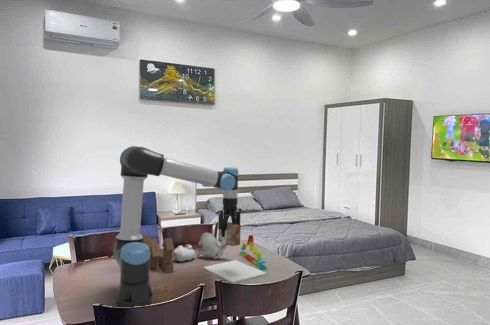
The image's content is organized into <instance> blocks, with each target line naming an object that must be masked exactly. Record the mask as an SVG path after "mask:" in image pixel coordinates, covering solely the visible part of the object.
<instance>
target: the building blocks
mask: <svg viewBox="0 0 490 325" xmlns="http://www.w3.org/2000/svg"><path fill="white" fill-rule="evenodd" d="M141 235H142V236H143V243H144V244H146V245H148V246H149V249H150V269H156V268H158V265H159V267H161V269H162V271H164V272H165V273H166V274H168V273H173V272H174V264H173V258H172V254H173V251H174V250H175V247H174V243H173V242H174V241H173V238H172V237H166V238H164V240H163V243H162V245H161V247H162V248H159V242H158V239H157V238H151V234H149V233H147V234H141ZM150 269H149V270H150Z"/></svg>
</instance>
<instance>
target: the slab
mask: <svg viewBox="0 0 490 325" xmlns="http://www.w3.org/2000/svg"><path fill="white" fill-rule="evenodd" d="M226 231H227V240H226V244H227V245H228V246H230V247H236V246H240V245H241V224H240V225H238V224H234V223H232V221H231V222H230V221H228V222H227V226H226ZM217 242H219V243H222V236H221V230H220V229H218V239H217Z"/></svg>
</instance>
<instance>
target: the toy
mask: <svg viewBox="0 0 490 325" xmlns="http://www.w3.org/2000/svg"><path fill="white" fill-rule="evenodd" d="M199 239H200V240H199V241H198V243H197V246H198V247H199V248H200V247H201V249H199V250H198V252H197V254H196V258H197V259H198V258H199V257H200V255H202V256H203V257H207V256H208V257H209V256H211V257H212V259H214V260H218V259H219V258H221V257H222V256H223V253H224V251H225V250H226V249H227V248H228V246H229V245H227V244H225V243H222V242H221V244H220V245H218V239H216V237H215V236H214V234H212V233H211V232H204V233H203V232H202V234H200V238H199Z"/></svg>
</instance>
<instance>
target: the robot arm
mask: <svg viewBox="0 0 490 325" xmlns="http://www.w3.org/2000/svg"><path fill="white" fill-rule="evenodd" d="M119 164H120V177H121V178H122V179H123V188H122V199H121V200H122V203H121V214H120V215H121V216H120V227H119V228H120V230H119V233H117V235H116V236H115V244H114V246H113V249H112V253H113V258H114V260H115V261H116V263H117V264H118V266H119V268H120V280H119V282H120V283H119V286H118V289H117V291H116V292H117V293H116V295H115V301H114V302H115V305H116V306H118V307H119V308H122V307H134V306H143V307H145V306H144V305H146V306H149V305H150V304H152V302H153V301H154V293H153V289H152V286H151V283H150V249H149V246H148V245H146V244H144V243H143V236H142V235H143V234H141V223H142V222H141V221H142V208H143V194H144V184H145V182H144V181H145V180H146V179H147V178H148V176H149V175H150V176H156V177H160V176H161V175H162V176H164V177H170V178H173V179H179V180H182V181H186V182H191V183H195V184H199V185H202V186H203V187H208V188H210V187H212V188H216V189H219V190H222V197H223V198H222V205H223V207H222V209H218V211H217V213H218V220H217V222H218V223H217V229H218V230H219V229H220V230H221V236H222V242H221V244H222V243H225V244H226V240H227V231H226V226H227V222H229V218H230V219H231V223H234V224H238V225H241V212H242V208H239V207H238V194H239V190H238V189H239V168H238V167H232V166H231V167H223V171H218V170H213V169H209V168H205V167H202V166H198V165H194V164H190V163H187V162H183V161H179V160H176V159H172V158H167V157H166V156H165V154H162V153H159V152H156V151H153V150H151V149H149V148H147V147H144V146H136V145H135V146H134V145H133V146H128V147H127V148H125V149H124V150H123V151H122V153H121V154H120V156H119Z"/></svg>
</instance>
